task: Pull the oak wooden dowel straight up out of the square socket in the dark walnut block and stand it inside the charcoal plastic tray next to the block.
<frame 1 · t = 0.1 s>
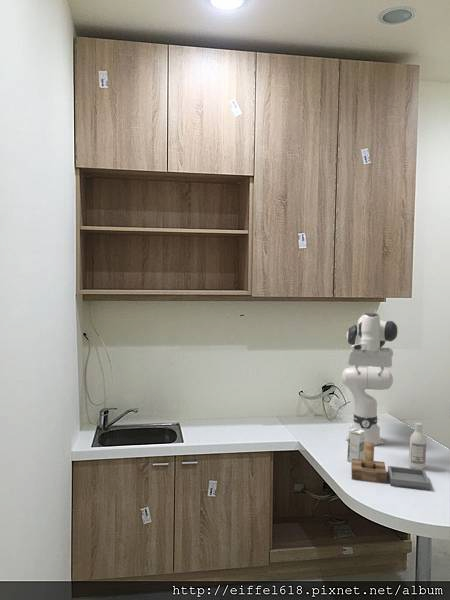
hand: (369, 376, 238), 39 cm above the worktop, tool pointing down, fingers open, 8 cm apart
holder: (368, 474, 216), on the worktop
bath foam: (416, 467, 227), on the worktop
syrup box: (355, 461, 233), on the worktop
dowel: (368, 458, 216), in the holder
tray: (407, 481, 210), on the worktop
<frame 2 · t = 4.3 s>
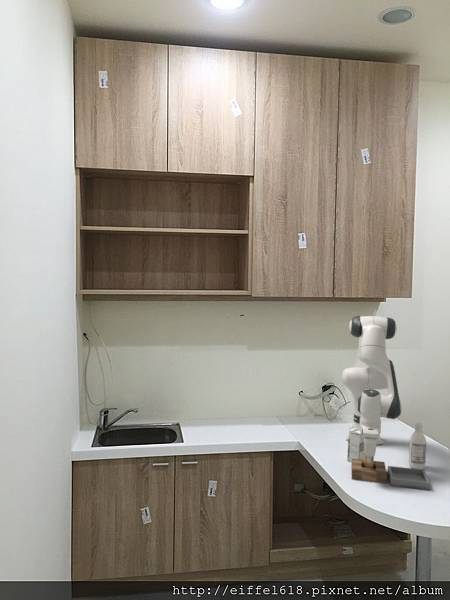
hand: (368, 459, 216), 7 cm above the worktop, tool pointing down, fingers closed on dowel, 4 cm apart
dowel: (368, 458, 216), in the holder, touching gripper
everything else where it was.
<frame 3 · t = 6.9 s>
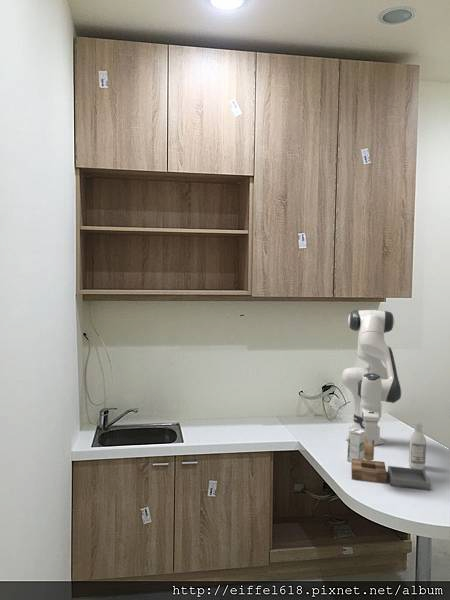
hand: (369, 443, 216), 14 cm above the worktop, tool pointing down, fingers closed on dowel, 4 cm apart
dowel: (369, 442, 216), point 14 cm above the worktop, touching gripper
everything else where it was.
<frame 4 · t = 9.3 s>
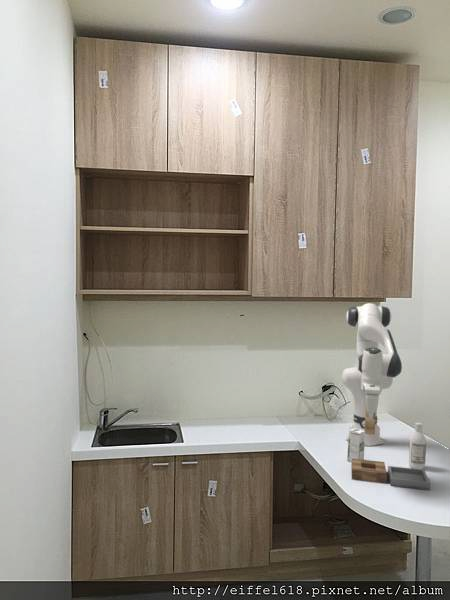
hand: (370, 417, 215), 25 cm above the worktop, tool pointing down, fingers closed on dowel, 4 cm apart
dowel: (370, 417, 215), point 25 cm above the worktop, touching gripper
everything else where it was.
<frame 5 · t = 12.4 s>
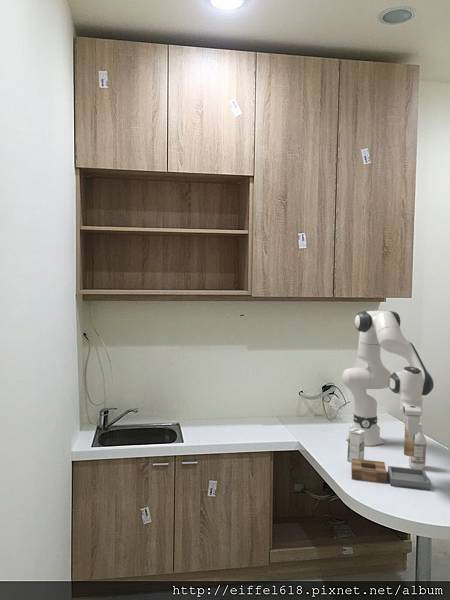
hand: (409, 439, 210), 18 cm above the worktop, tool pointing down, fingers closed on dowel, 4 cm apart
dowel: (409, 438, 210), point 18 cm above the worktop, touching gripper
everything else where it was.
when the fingers open (9 cm above the worktop, at t = 14.8 s): dowel stays where it is, resting on tray.
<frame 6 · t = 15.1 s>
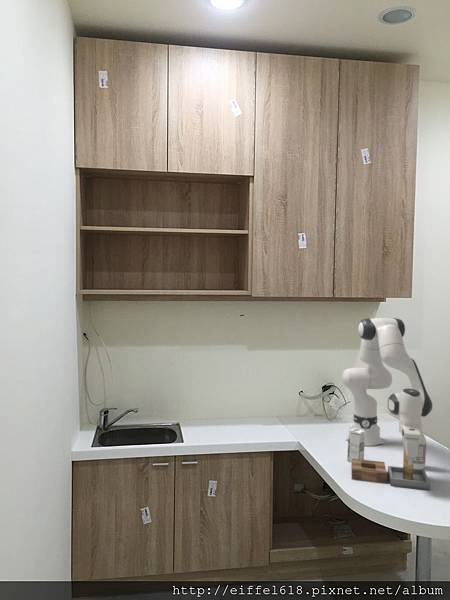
hand: (408, 460, 210), 9 cm above the worktop, tool pointing down, fingers open, 7 cm apart
dowel: (408, 462, 210), in the tray, point 8 cm above the worktop
everything else where it was.
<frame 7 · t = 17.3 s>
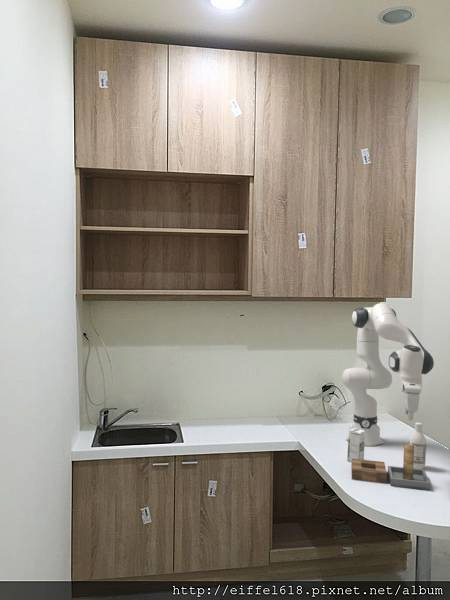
hand: (409, 417, 210), 27 cm above the worktop, tool pointing down, fingers open, 8 cm apart
nothing on the worktop moved.
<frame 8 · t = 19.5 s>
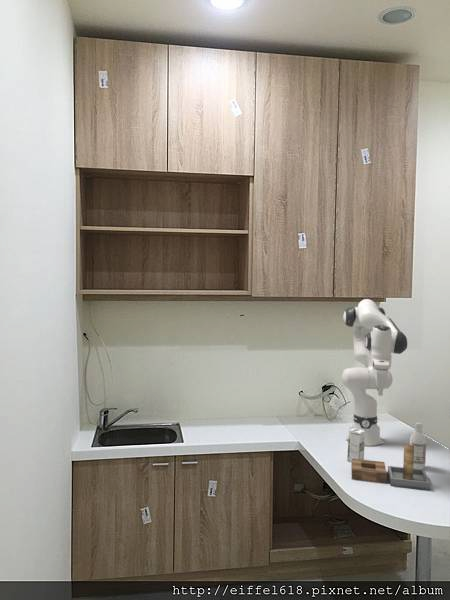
hand: (379, 393, 223), 34 cm above the worktop, tool pointing down, fingers open, 8 cm apart
nothing on the worktop moved.
at the end: dowel inside the target area on the tray (0.1 cm from its centre), point 8.0 cm above the tray's base; dowel moved 16.1 cm from its start; the gripper is holding nothing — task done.
